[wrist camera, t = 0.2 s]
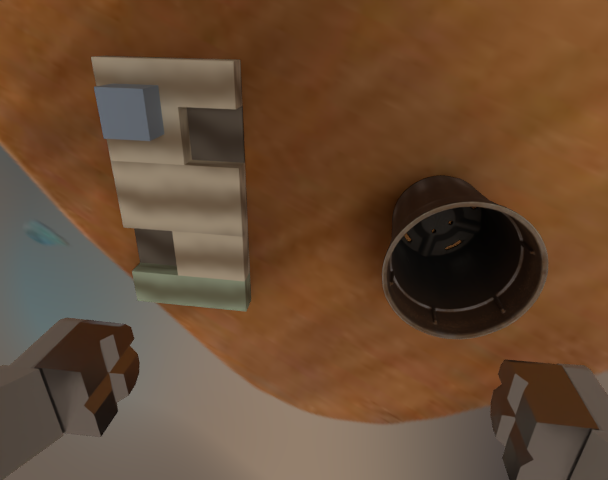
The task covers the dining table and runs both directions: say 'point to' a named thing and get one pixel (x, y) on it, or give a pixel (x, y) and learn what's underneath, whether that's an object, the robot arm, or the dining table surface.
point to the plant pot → (460, 261)
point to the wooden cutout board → (185, 182)
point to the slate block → (130, 111)
